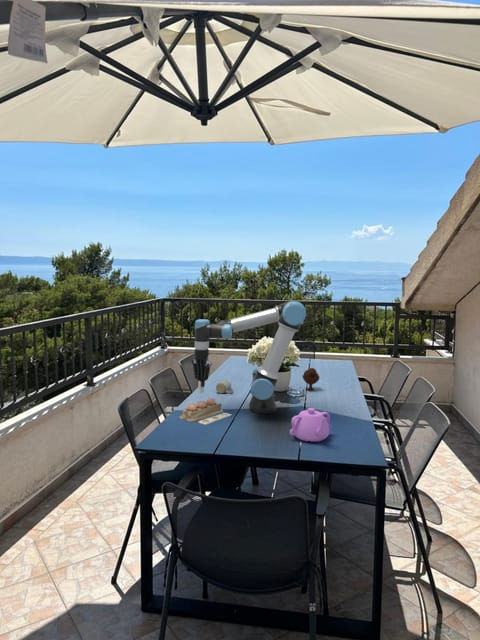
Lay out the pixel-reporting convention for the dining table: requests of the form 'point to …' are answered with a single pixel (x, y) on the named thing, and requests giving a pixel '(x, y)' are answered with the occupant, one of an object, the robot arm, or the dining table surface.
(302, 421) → the teapot
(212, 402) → the button
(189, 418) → the button panel
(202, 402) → the button middle
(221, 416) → the pattern card
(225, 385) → the ceramic mug
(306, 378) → the brown tree model
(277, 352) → the robot arm
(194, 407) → the button
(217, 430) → the dining table surface
